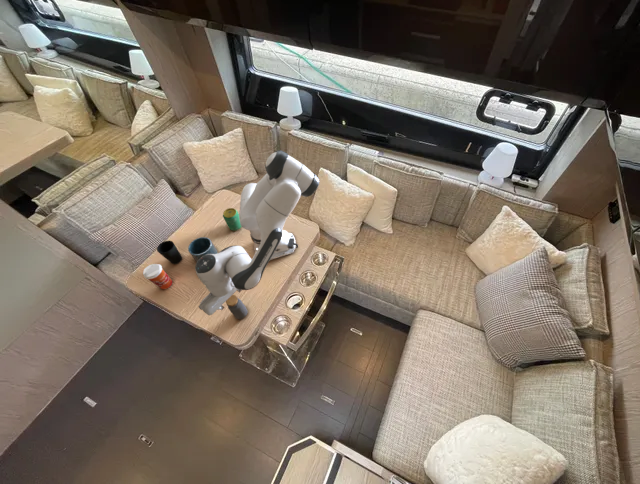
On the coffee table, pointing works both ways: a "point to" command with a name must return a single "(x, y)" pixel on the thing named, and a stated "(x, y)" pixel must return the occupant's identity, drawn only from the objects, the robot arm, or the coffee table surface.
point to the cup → (169, 252)
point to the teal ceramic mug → (201, 248)
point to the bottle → (236, 307)
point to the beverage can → (232, 219)
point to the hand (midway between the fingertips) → (231, 299)
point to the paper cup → (157, 276)
